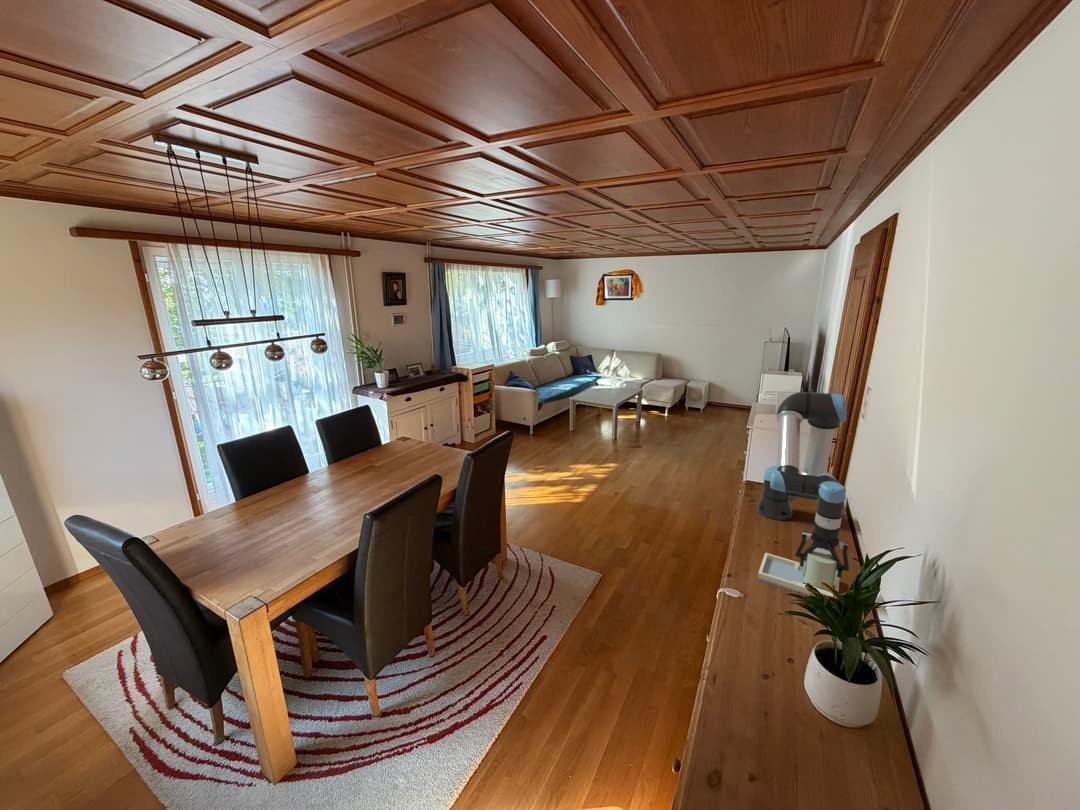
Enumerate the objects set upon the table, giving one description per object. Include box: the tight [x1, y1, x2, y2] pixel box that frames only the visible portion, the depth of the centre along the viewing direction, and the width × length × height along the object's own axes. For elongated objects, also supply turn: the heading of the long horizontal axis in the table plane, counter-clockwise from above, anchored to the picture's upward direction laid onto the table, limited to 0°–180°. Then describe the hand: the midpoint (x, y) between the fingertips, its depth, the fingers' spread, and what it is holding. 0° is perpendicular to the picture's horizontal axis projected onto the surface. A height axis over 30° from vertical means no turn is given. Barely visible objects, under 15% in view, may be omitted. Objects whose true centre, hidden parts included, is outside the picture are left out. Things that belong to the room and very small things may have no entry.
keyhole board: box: [757, 552, 841, 597], centre depth 159 cm, size 15×25×3 cm, turn 54°
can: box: [804, 547, 837, 591], centre depth 153 cm, size 9×9×12 cm
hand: (818, 578), depth 154 cm, fingers closed on can, 9 cm apart
